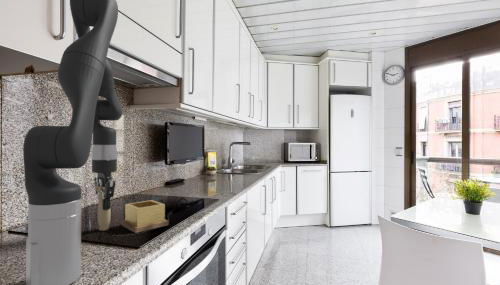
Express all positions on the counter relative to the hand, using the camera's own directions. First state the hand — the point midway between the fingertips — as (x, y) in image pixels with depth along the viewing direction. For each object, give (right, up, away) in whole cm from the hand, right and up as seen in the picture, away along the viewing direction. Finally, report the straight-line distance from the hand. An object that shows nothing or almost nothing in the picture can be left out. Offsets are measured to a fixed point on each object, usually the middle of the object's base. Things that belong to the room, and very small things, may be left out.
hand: (104, 208), depth 91 cm
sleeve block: (+12, -7, +5) cm, 15 cm away
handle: (0, -7, 0) cm, 7 cm away
